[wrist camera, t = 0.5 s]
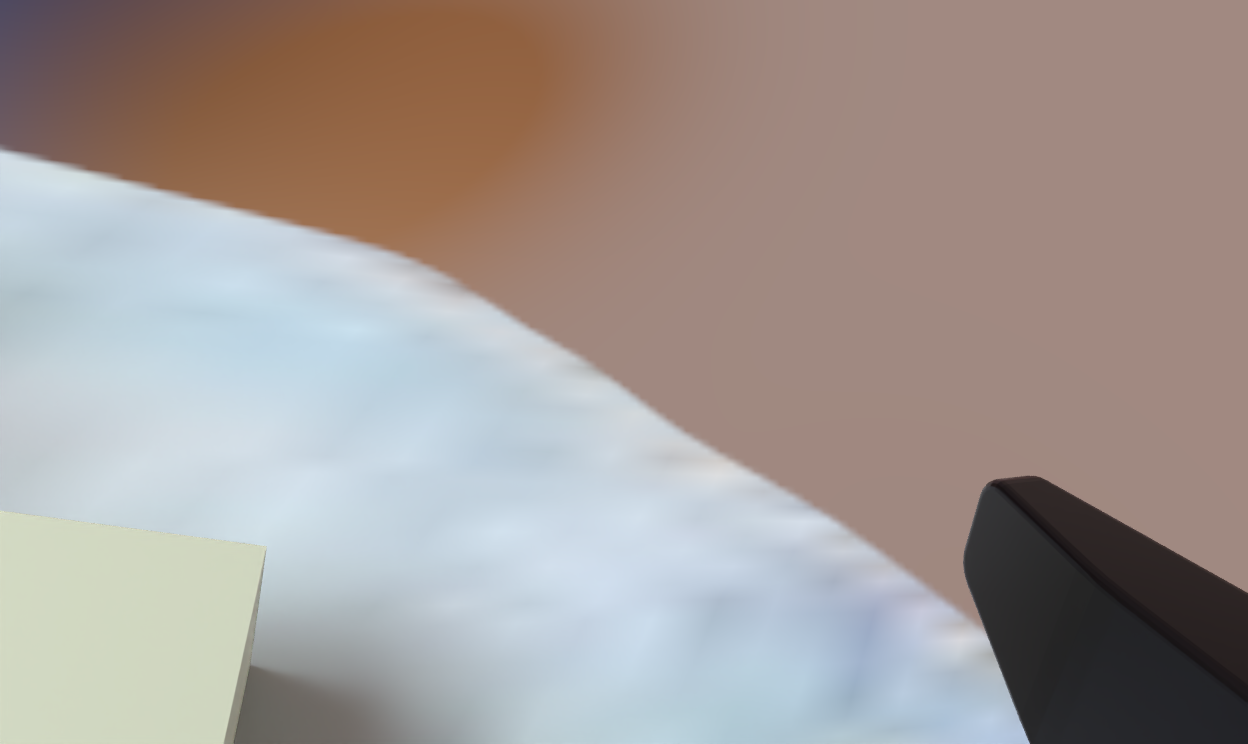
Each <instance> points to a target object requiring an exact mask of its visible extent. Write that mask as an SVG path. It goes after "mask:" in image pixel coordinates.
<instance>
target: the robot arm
mask: <svg viewBox="0 0 1248 744" xmlns="http://www.w3.org/2000/svg"><path fill="white" fill-rule="evenodd" d="M963 564H964V573H965V577H966V580H967V584H968V587H969V589H970V592H971V595H972V597H973V600H974V602H975V605H976V607H977V610H978V613H979V615H980V618H981V620H982V623H983V626H984V628H985V631H986V633H987V636H988V639H989V641H990V644H991V646H992V649H993V652H994V654H995V657H996V659H997V662H998V664H999V667H1000V670H1001V672H1002V675H1003V677H1004V680H1005V683H1006V685H1007V688H1008V690H1009V693H1010V696H1011V698H1012V701H1013V703H1014V706H1015V708H1016V711H1017V714H1018V716H1019V719H1020V721H1021V724H1022V726H1023V728H1024V731H1025V733H1026V735H1027V738H1028V740H1029V743H1030V744H1248V593H1247V592H1245V591H1243V590H1241V589H1240V588H1238V587H1236V586H1234V585H1233V584H1231V583H1229V582H1227V581H1225V580H1224V579H1222V578H1220V577H1218V576H1216V575H1215V574H1213V573H1211V572H1209V571H1208V570H1206V569H1204V568H1202V567H1200V566H1198V565H1197V564H1195V563H1193V562H1191V561H1190V560H1188V559H1186V558H1184V557H1183V556H1181V555H1179V554H1177V553H1175V552H1174V551H1172V550H1170V549H1168V548H1167V547H1165V546H1163V545H1161V544H1159V543H1158V542H1156V541H1154V540H1152V539H1150V538H1149V537H1147V536H1145V535H1143V534H1142V533H1140V532H1138V531H1136V530H1134V529H1133V528H1131V527H1129V526H1127V525H1125V524H1124V523H1122V522H1120V521H1118V520H1117V519H1115V518H1113V517H1111V516H1109V515H1108V514H1106V513H1104V512H1102V511H1100V510H1099V509H1097V508H1095V507H1093V506H1091V505H1090V504H1088V503H1086V502H1084V501H1083V500H1081V499H1079V498H1077V497H1075V496H1074V495H1072V494H1070V493H1068V492H1067V491H1065V490H1063V489H1061V488H1059V487H1058V486H1056V485H1054V484H1052V483H1050V482H1049V481H1047V480H1045V479H1042V478H1041V477H1037V476H1021V477H1013V478H1004V479H996V480H993V481H991V482H989V483H988V484H987V485H986V486H985V487H984V488H983V490H982V492H981V495H980V499H979V502H978V505H977V509H976V512H975V516H974V519H973V522H972V526H971V529H970V533H969V536H968V540H967V543H966V547H965V551H964V561H963Z"/></svg>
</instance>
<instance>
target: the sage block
mask: <svg viewBox="0 0 1248 744" xmlns="http://www.w3.org/2000/svg"><path fill="white" fill-rule="evenodd" d="M266 547H267V546H260V545H252V544H245V543H237V542H230V541H222V540H215V539H208V538H200V537H193V536H185V535H178V534H170V533H163V532H155V531H148V530H140V529H133V528H125V527H118V526H110V525H103V524H95V523H88V522H80V521H73V520H65V519H58V518H50V517H43V516H35V515H28V514H20V513H13V512H5V511H0V744H234V739H235V734H236V729H237V725H238V720H239V715H240V711H241V706H242V701H243V696H244V692H245V687H246V682H247V678H248V673H249V668H250V662H251V655H252V648H253V641H254V634H255V626H256V619H257V612H258V605H259V598H260V591H261V583H262V576H263V569H264V562H265V555H266Z"/></svg>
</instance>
